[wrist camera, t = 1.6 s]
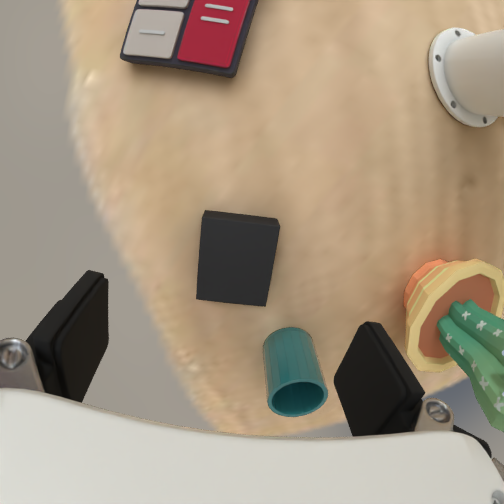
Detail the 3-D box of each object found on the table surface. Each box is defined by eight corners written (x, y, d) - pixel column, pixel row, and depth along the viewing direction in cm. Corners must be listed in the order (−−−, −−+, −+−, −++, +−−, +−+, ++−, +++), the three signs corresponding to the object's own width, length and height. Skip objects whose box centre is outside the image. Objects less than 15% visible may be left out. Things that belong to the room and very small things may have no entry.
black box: (277, 218, 32) (280, 226, 30) (264, 294, 35) (265, 306, 33) (205, 210, 31) (202, 217, 29) (199, 287, 35) (196, 299, 32)
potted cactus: (484, 238, 34) (613, 338, 10) (453, 332, 39) (537, 449, 16) (396, 231, 33) (551, 379, 10) (368, 340, 39) (442, 501, 16)
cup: (318, 328, 38) (335, 379, 29) (306, 366, 40) (318, 416, 32) (267, 325, 37) (273, 378, 29) (259, 363, 40) (263, 416, 31)
